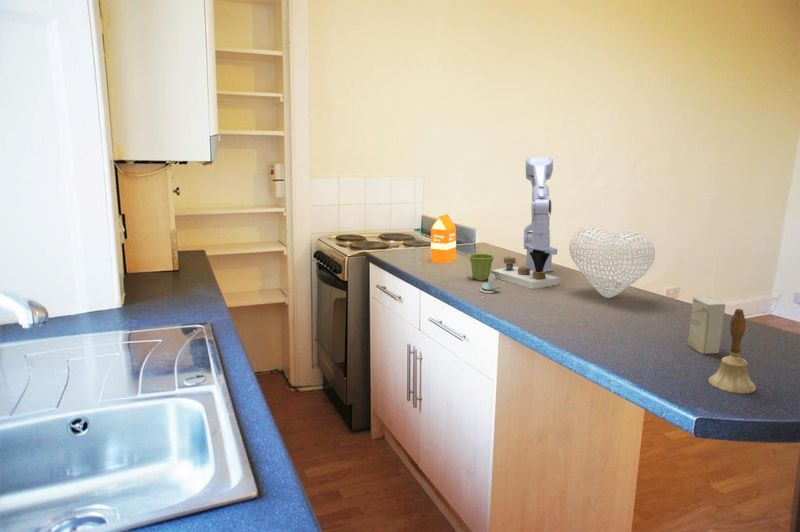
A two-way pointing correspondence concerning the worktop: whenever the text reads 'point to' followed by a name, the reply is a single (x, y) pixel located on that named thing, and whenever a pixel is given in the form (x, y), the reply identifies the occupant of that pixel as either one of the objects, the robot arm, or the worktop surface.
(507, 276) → the mount plate
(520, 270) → the knob middle
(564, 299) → the worktop surface
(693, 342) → the skincare box
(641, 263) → the heart
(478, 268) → the plant pot
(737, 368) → the hand bell
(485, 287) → the pacifier
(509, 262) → the knob
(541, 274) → the knob
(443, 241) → the orange juice
